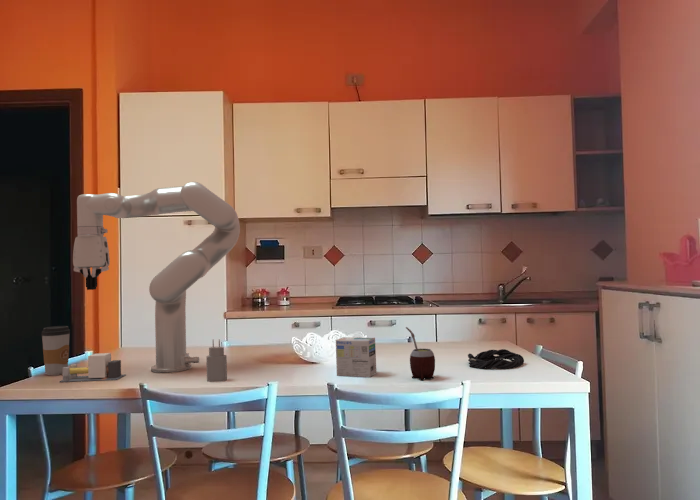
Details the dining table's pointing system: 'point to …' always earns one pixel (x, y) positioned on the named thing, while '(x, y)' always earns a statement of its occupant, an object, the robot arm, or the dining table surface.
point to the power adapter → (216, 364)
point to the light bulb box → (356, 356)
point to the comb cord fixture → (72, 371)
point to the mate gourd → (421, 362)
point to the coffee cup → (55, 349)
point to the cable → (495, 359)
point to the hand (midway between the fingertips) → (91, 289)
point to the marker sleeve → (98, 365)
